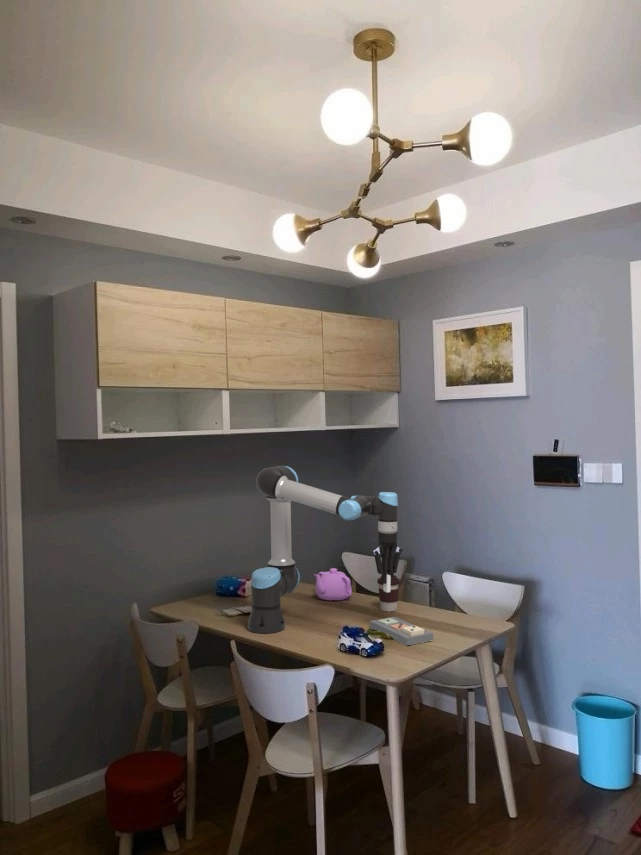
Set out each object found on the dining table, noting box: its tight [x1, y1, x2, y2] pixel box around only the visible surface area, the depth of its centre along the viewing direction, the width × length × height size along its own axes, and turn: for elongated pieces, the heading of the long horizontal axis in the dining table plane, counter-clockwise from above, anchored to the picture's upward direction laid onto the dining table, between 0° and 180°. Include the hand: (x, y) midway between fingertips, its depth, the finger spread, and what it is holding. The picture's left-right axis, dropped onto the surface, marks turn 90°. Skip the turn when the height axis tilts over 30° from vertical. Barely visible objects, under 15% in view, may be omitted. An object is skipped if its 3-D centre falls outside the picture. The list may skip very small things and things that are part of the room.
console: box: [368, 616, 434, 646], centre depth 266 cm, size 12×26×3 cm, turn 28°
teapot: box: [313, 567, 353, 601], centre depth 322 cm, size 22×22×14 cm
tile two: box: [402, 625, 425, 636], centre depth 259 cm, size 6×6×3 cm
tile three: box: [390, 623, 409, 630], centre depth 266 cm, size 6×6×3 cm
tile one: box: [378, 617, 399, 625], centre depth 274 cm, size 6×6×3 cm
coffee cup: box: [376, 574, 401, 613], centre depth 302 cm, size 10×10×15 cm
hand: (386, 591), depth 269 cm, fingers closed
